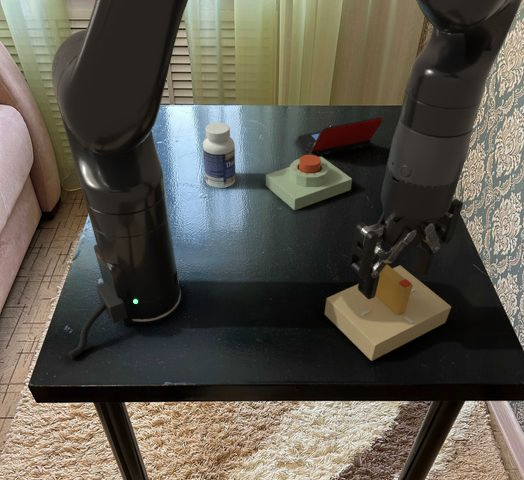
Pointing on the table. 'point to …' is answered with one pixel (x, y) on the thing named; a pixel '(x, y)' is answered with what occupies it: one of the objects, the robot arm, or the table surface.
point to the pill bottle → (219, 156)
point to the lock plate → (386, 317)
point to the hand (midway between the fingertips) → (393, 283)
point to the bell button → (309, 164)
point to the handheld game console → (340, 137)
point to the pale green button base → (307, 184)
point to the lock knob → (393, 290)
